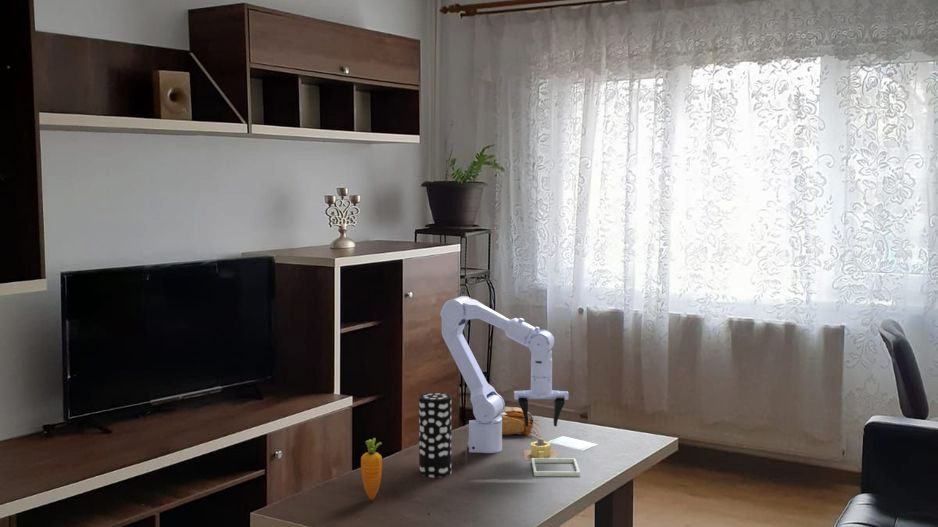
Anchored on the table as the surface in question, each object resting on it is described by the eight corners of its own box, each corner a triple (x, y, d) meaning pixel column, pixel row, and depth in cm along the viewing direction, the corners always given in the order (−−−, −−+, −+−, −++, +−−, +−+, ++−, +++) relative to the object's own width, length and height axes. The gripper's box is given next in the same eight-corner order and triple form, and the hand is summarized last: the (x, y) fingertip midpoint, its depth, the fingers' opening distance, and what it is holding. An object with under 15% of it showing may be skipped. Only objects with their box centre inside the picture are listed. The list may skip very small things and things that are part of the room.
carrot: (371, 495, 223) (371, 433, 221) (386, 499, 220) (386, 437, 218) (356, 500, 219) (356, 438, 217) (371, 505, 216) (371, 442, 214)
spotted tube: (447, 478, 235) (447, 400, 233) (415, 476, 237) (415, 399, 235) (454, 468, 243) (454, 393, 241) (423, 466, 245) (423, 391, 243)
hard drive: (546, 441, 264) (583, 449, 256) (563, 435, 271) (599, 443, 262) (546, 447, 265) (583, 455, 256) (563, 441, 271) (599, 449, 263)
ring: (531, 459, 248) (531, 448, 248) (530, 451, 255) (530, 441, 255) (551, 459, 248) (551, 448, 248) (549, 452, 255) (549, 441, 255)
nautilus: (556, 441, 270) (516, 453, 261) (509, 421, 287) (470, 431, 278) (556, 415, 269) (516, 426, 260) (509, 396, 286) (470, 406, 277)
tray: (534, 478, 235) (534, 471, 235) (531, 464, 247) (531, 458, 246) (580, 479, 235) (580, 472, 235) (575, 464, 246) (575, 458, 246)
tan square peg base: (524, 462, 248) (524, 443, 248) (523, 452, 257) (523, 434, 257) (558, 462, 248) (558, 443, 248) (555, 452, 257) (555, 434, 257)
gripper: (515, 379, 247) (514, 429, 248) (569, 379, 246) (569, 429, 248) (514, 373, 254) (513, 422, 255) (567, 373, 253) (566, 422, 255)
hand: (541, 425), depth 252 cm, fingers open, 7 cm apart
